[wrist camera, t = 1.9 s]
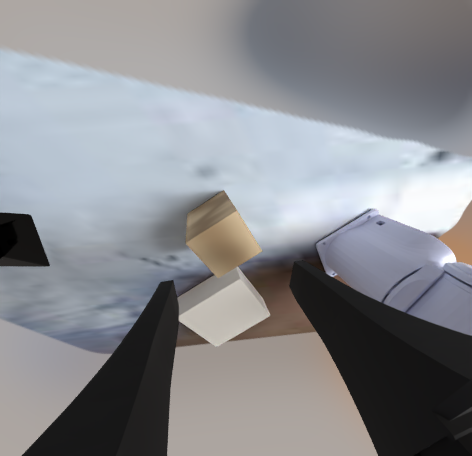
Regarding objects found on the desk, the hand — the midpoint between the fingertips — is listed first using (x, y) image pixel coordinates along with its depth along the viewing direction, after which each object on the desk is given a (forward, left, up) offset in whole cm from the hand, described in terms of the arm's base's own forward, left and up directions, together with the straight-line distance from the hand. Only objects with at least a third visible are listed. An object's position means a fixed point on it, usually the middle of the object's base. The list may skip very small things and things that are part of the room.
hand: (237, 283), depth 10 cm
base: (+6, +11, -10) cm, 16 cm away
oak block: (0, 0, -10) cm, 10 cm away
